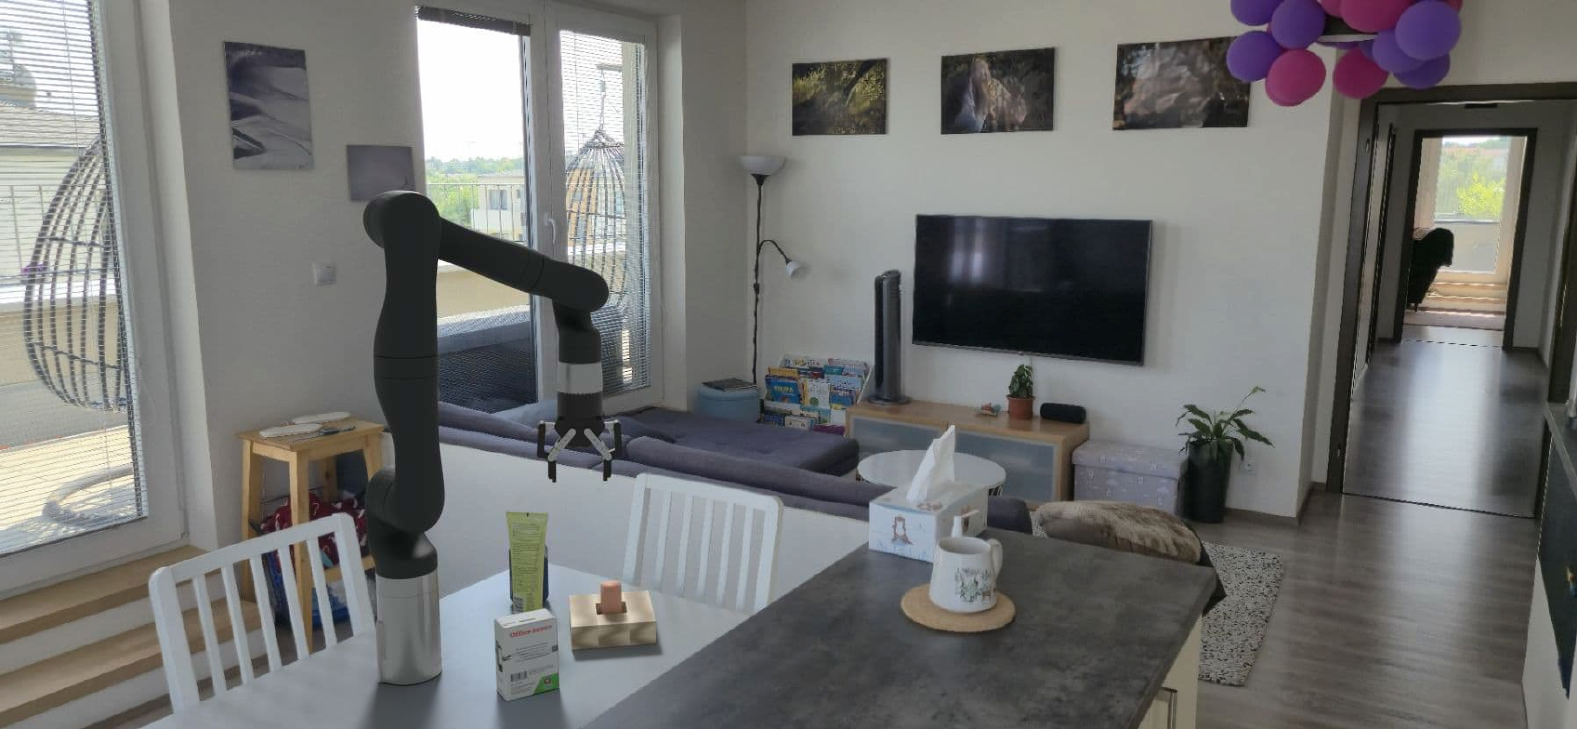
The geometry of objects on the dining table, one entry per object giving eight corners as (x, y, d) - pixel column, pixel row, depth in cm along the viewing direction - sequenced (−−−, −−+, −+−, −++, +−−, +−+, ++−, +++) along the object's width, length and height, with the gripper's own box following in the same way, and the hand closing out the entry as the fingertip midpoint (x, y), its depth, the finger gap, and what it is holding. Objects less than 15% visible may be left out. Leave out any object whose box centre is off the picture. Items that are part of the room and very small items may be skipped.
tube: (537, 608, 202) (535, 505, 198) (550, 617, 198) (548, 512, 194) (508, 616, 198) (505, 510, 195) (521, 625, 194) (518, 518, 191)
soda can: (555, 597, 207) (553, 535, 205) (538, 611, 200) (537, 548, 198) (520, 593, 209) (519, 532, 207) (503, 607, 202) (501, 544, 200)
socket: (571, 649, 185) (571, 627, 184) (569, 616, 198) (569, 595, 198) (655, 643, 188) (655, 621, 187) (648, 611, 201) (648, 590, 201)
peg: (601, 633, 191) (600, 588, 190) (600, 624, 194) (599, 581, 193) (622, 631, 192) (622, 587, 190) (621, 623, 195) (620, 579, 194)
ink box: (548, 676, 175) (547, 605, 173) (560, 689, 171) (559, 616, 169) (495, 689, 171) (492, 616, 169) (505, 702, 167) (503, 628, 165)
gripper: (621, 383, 192) (620, 474, 195) (536, 383, 189) (537, 476, 192) (623, 391, 185) (623, 485, 187) (536, 391, 182) (536, 487, 185)
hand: (579, 480), depth 190 cm, fingers open, 8 cm apart
